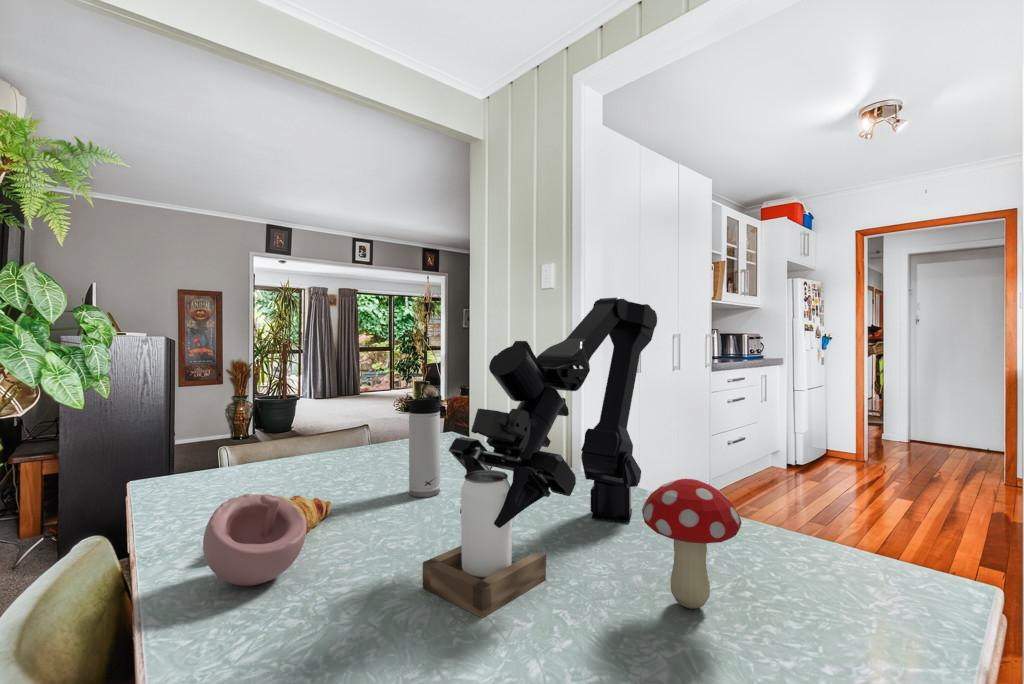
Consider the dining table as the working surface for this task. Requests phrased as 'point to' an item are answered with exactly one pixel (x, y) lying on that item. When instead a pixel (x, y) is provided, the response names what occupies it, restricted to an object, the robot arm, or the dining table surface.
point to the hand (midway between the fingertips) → (479, 520)
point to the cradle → (481, 581)
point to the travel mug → (424, 446)
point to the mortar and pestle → (253, 538)
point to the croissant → (311, 509)
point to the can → (484, 524)
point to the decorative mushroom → (691, 532)
